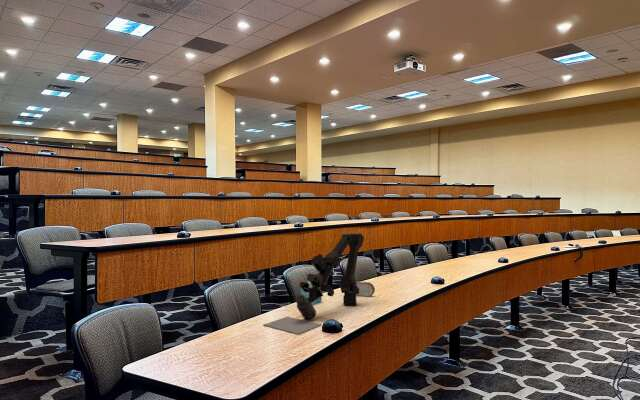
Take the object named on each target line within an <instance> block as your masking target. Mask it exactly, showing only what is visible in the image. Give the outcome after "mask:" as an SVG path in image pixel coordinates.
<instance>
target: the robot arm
mask: <svg viewBox="0 0 640 400" xmlns="http://www.w3.org/2000/svg"><path fill="white" fill-rule="evenodd" d="M364 241H365V237H364V235H363V234H362V233H358V232H357V233H356V232H351V233H343V234H342V235H341V237H340V239H339V240H338V241H337V243H336V245H335V247H333V249H332V251H330V252H329V253H328V252H327V254H326V255H325V256H323V255H322V254H321V253H320V254H319V253H317V255H316V256H314V257H312V258H311V260H310V263H311V265H312V266H313V267H314V269H315V270H316V272H318V273H317V274H313V273H307V276H306V281H301V282H300V283H299V285H298V287H300V290H301V289H302V290H303V291H304V292H308V293H309V298H308V299H309V300H310V302H311V303H312V302H314V301H315V300H316V299H318V298H320V297H321V296H322V297H323V296H324V293H327V296H328V297H333V296H334V295H335V290H334V289H333V287H332V286H331V285H329V281H328V280H329V278H330V277H331V276H334V274H335V273H334V270H333V269H331V268H337V267H338V266H339V264H340V262H341V256H342V254H343V253H344V252H345V250H346V248H347V247H349V251H348V257H347V262H346V269H345V273H344V275H341V277H340V282H339V287H340V292H341V294H343V295H342V296H343V301H342V302H343V306H345V307H346V306H347V307H348V306H351V307H352V306H353V307H356V306H357V303H358V302H357V296H356V294H358V293H359V288H358V287H357V285H356V281H357V279H356V277H355V275H356V268H357V262H358V255H359V250H361V249H360V248H361V247H362V246H363V244H364ZM310 281H311V282H310ZM308 282H310V283H311V284H312V285H309V283H308Z"/></svg>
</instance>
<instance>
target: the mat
mask: <svg viewBox="0 0 640 400" xmlns="http://www.w3.org/2000/svg"><path fill="white" fill-rule="evenodd" d="M321 325H322V326H323V324H322V323H317V322H313V321H310V320H305V319H300V318H295V317H290V316H285V317H282V318H278V319H275V320H273V321H270V322H266V323H264V324H263V327H266V328H271V329H275V330H279V331H283V332H287V333H290V334H295V335H298V336H299V335H301V334H304V333H307V332H309V331H312V330H314V329H317V328H319V327H318V326H320V327H321ZM316 327H317V328H316ZM313 328H314V329H313ZM311 329H312V330H311Z"/></svg>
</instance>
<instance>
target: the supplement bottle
mask: <svg viewBox="0 0 640 400" xmlns="http://www.w3.org/2000/svg"><path fill="white" fill-rule="evenodd" d="M295 303H296V308H297V310H298V312H299V313H300V314H301V316H302V317H303V320H305V321H311V320H313V319H315V317H316V315H317V310H316V309H315V307H314V305H312V303H311V302H310V300H309V299H308V298H306V297H305V296H304V295H301V294H299V295H298V296H296V298H295Z"/></svg>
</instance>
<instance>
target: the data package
mask: <svg viewBox="0 0 640 400" xmlns="http://www.w3.org/2000/svg"><path fill="white" fill-rule="evenodd" d="M307 282H308V283H309V285H312V284H311V283H310V282H311V281H307ZM300 295H304V296H305V297H306V298H309V293H308V292H304V291H303V290H302V289H301V288H300ZM322 297H323V296H321V297H320V298H318V299H316V300H315V301H314V302H312V305H313V306H315V305H317V304H320V303H321V302H322V300H323V299H322Z"/></svg>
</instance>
